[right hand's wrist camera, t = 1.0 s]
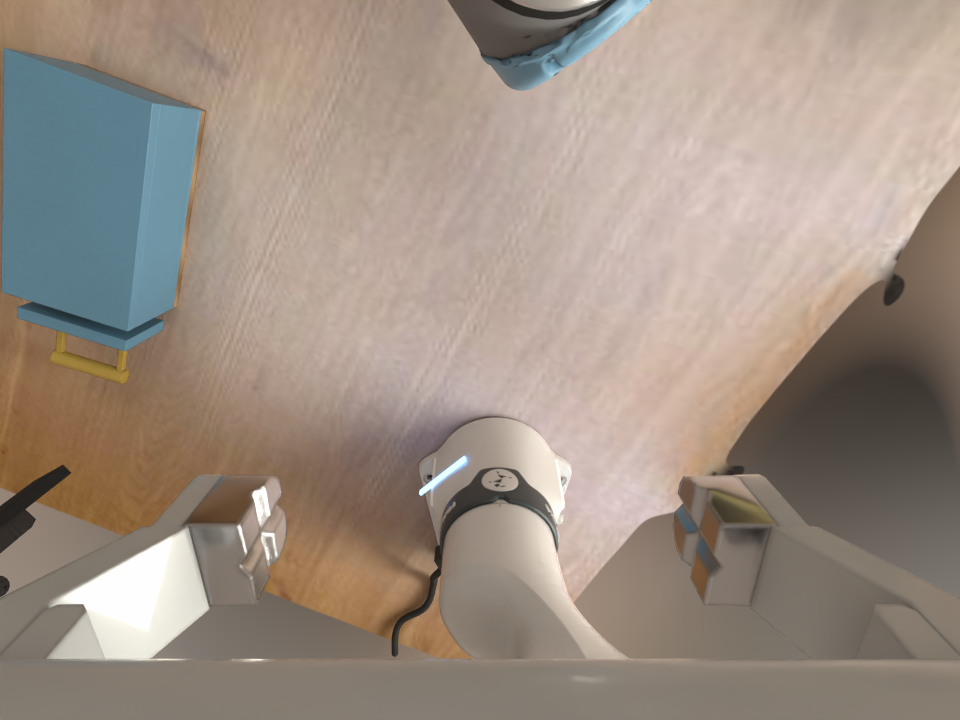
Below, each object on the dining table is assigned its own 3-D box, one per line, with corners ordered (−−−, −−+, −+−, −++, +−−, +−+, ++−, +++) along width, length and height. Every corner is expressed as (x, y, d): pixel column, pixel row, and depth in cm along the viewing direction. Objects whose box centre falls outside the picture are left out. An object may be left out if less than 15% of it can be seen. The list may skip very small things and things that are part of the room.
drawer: (157, 374, 58) (119, 400, 52) (64, 346, 57) (15, 369, 51) (187, 152, 49) (147, 153, 43) (78, 113, 48) (21, 108, 42)
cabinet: (177, 306, 56) (127, 331, 48) (70, 271, 55) (0, 292, 47) (205, 110, 49) (152, 103, 41) (82, 64, 48) (3, 47, 40)
